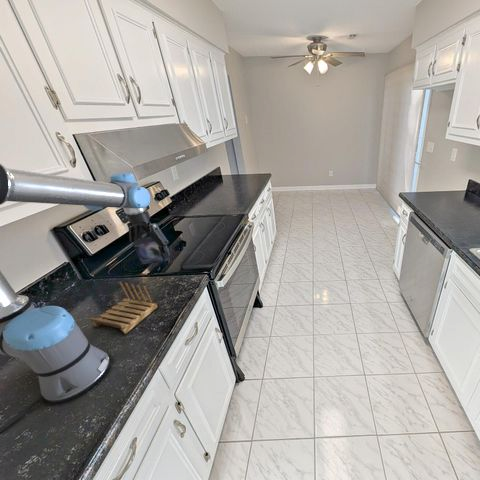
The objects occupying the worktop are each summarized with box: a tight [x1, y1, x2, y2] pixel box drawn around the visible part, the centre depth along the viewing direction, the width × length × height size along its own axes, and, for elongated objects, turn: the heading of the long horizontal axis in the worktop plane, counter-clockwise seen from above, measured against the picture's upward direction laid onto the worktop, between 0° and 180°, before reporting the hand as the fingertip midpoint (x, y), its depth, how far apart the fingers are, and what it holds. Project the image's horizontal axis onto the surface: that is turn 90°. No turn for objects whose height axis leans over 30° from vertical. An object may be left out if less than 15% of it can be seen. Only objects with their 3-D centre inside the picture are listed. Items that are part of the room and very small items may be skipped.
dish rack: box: [89, 281, 158, 335], centre depth 94 cm, size 14×15×11 cm
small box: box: [132, 236, 171, 266], centre depth 111 cm, size 11×6×10 cm, turn 105°
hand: (155, 257), depth 113 cm, fingers closed on small box, 12 cm apart
